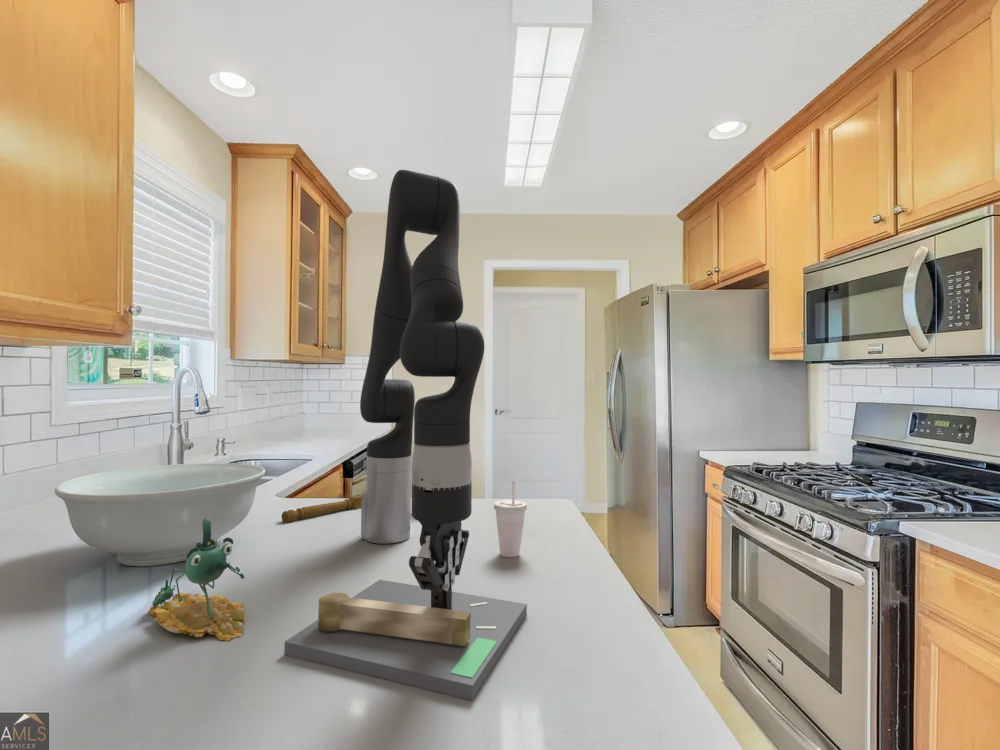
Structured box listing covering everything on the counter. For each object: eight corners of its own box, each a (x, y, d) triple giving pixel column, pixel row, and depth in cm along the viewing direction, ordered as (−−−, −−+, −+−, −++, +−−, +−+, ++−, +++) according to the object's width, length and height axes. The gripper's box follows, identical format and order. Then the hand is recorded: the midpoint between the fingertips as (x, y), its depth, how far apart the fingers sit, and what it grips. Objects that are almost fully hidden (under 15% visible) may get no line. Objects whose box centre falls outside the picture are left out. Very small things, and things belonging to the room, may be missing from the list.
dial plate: (284, 654, 57) (284, 640, 58) (379, 589, 76) (379, 578, 76) (472, 700, 50) (472, 684, 50) (526, 614, 68) (526, 603, 69)
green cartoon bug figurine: (203, 592, 75) (213, 497, 74) (271, 639, 65) (283, 530, 65) (129, 615, 67) (140, 508, 66) (194, 673, 57) (207, 548, 57)
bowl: (42, 552, 91) (45, 473, 91) (231, 519, 114) (232, 457, 115) (63, 607, 69) (67, 503, 69) (291, 552, 92) (293, 475, 93)
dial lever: (312, 629, 60) (312, 603, 60) (328, 616, 63) (329, 591, 64) (463, 650, 56) (463, 622, 56) (471, 634, 59) (472, 608, 59)
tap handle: (281, 509, 113) (385, 489, 137) (280, 523, 113) (385, 500, 137) (287, 512, 111) (392, 491, 135) (287, 525, 111) (392, 502, 135)
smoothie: (523, 561, 90) (524, 484, 90) (489, 558, 91) (490, 482, 91) (528, 549, 96) (529, 478, 96) (496, 547, 97) (497, 476, 98)
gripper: (438, 468, 69) (437, 591, 69) (387, 487, 56) (386, 638, 56) (487, 472, 67) (487, 599, 66) (446, 492, 54) (446, 650, 54)
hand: (441, 617), depth 61 cm, fingers closed
